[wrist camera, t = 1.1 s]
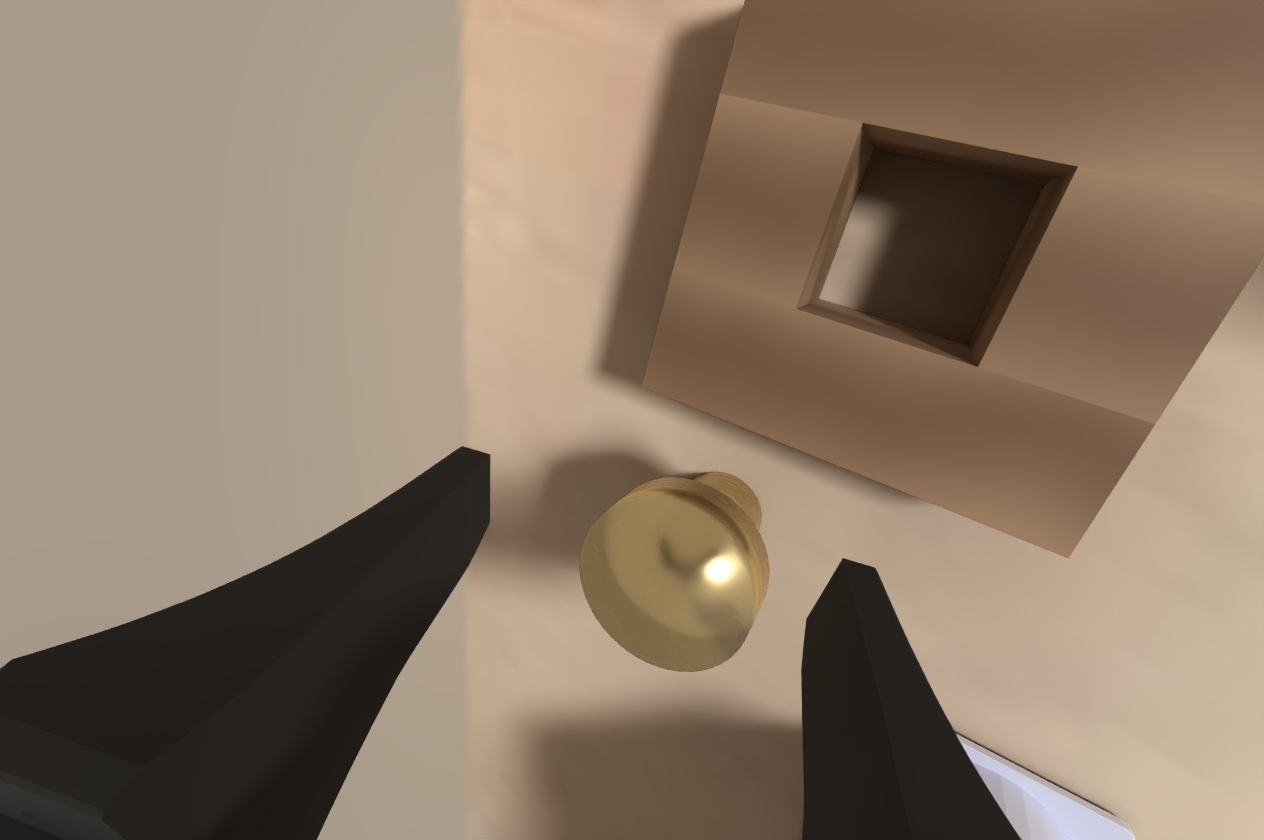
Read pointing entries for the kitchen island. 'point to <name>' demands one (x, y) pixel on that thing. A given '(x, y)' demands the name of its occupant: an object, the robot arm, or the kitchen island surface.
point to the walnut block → (1038, 265)
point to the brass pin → (678, 570)
